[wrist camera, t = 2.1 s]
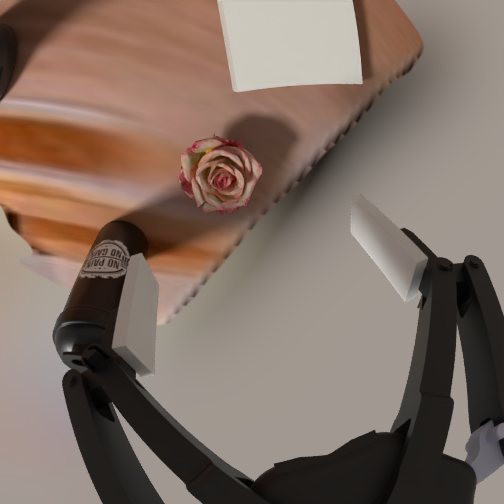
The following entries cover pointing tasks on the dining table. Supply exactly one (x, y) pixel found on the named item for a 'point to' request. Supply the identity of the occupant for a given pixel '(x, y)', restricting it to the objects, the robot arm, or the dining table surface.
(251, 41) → the block
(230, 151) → the flower
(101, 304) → the water bottle
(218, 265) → the dining table surface
